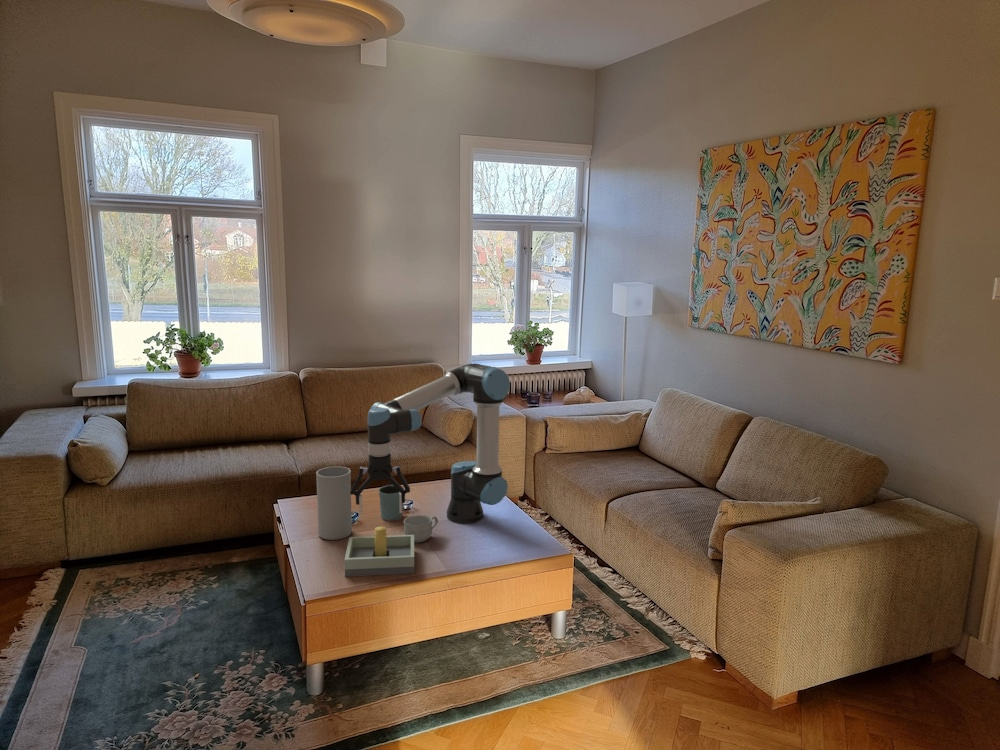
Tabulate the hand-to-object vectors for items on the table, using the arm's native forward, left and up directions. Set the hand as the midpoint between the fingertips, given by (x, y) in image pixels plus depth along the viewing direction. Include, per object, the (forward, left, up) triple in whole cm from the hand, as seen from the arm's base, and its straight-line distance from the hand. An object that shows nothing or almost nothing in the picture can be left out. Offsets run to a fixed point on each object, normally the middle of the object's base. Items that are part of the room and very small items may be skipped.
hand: (380, 512), depth 231 cm
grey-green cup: (-2, -39, -18) cm, 43 cm away
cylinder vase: (+19, -24, -18) cm, 36 cm away
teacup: (-14, -17, -18) cm, 29 cm away
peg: (0, 0, -18) cm, 18 cm away
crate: (0, +2, -18) cm, 18 cm away
